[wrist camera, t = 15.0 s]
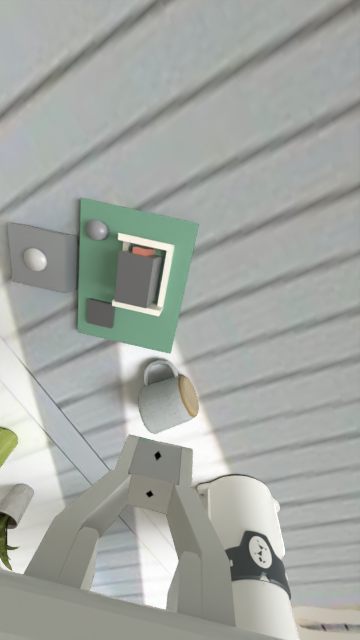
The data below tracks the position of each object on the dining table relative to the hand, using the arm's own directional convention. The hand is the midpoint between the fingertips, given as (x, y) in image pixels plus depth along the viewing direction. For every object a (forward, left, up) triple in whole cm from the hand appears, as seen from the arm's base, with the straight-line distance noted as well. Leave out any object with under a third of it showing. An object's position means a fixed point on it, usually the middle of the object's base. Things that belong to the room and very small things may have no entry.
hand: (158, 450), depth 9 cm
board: (+2, +9, -24) cm, 26 cm away
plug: (+4, +7, -23) cm, 24 cm away
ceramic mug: (-15, 0, -24) cm, 29 cm away
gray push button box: (+3, +22, -24) cm, 33 cm away
